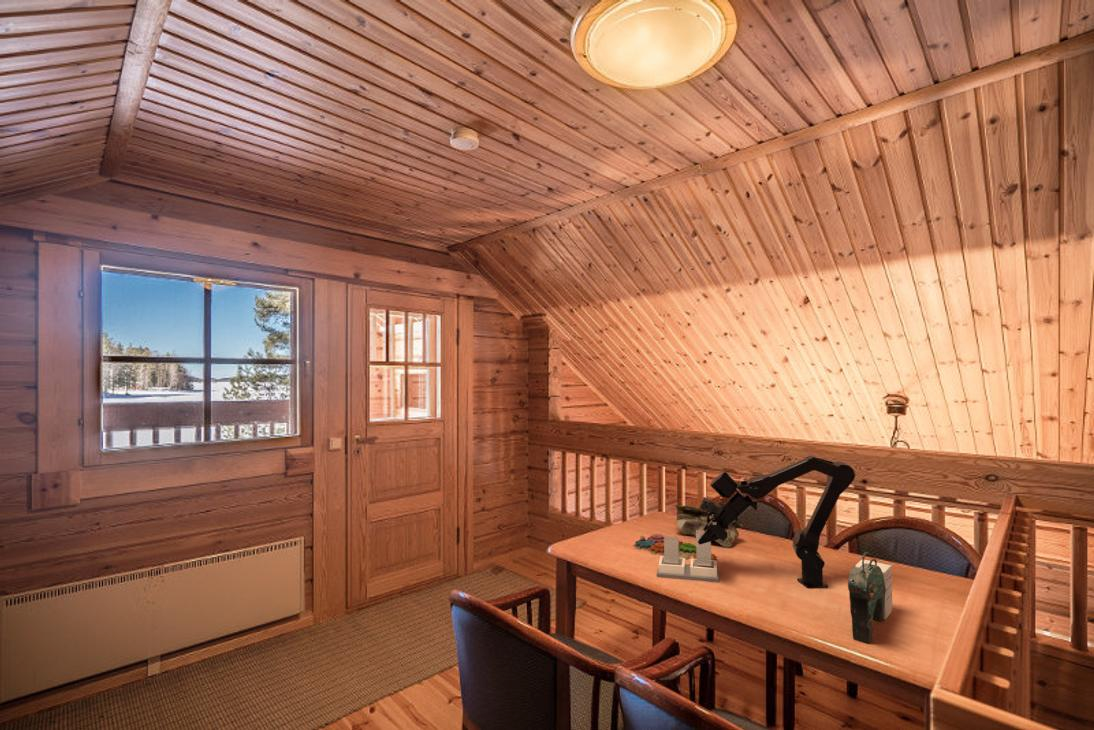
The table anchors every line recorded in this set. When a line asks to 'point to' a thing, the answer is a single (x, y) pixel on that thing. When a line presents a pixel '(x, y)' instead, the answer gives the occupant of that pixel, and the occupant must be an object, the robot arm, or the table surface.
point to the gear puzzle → (657, 547)
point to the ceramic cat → (866, 598)
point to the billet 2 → (703, 550)
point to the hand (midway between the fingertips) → (699, 540)
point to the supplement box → (888, 585)
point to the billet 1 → (671, 550)
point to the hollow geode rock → (702, 524)
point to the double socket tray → (688, 570)
